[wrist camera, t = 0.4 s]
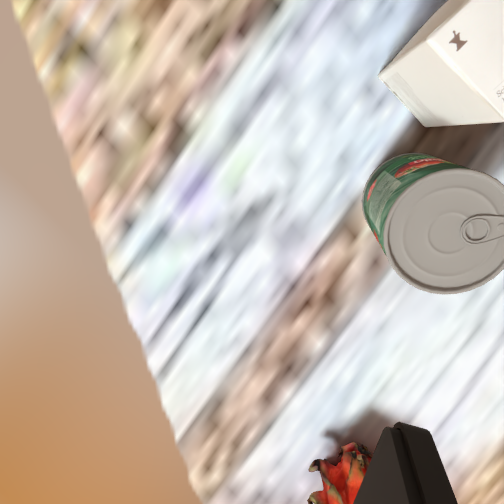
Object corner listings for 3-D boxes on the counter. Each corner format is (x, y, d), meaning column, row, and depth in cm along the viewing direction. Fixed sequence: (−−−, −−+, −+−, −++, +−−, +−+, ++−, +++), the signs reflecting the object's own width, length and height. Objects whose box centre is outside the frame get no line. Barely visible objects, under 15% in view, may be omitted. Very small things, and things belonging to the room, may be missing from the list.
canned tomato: (366, 250, 38) (388, 301, 28) (356, 161, 36) (377, 180, 25) (461, 237, 37) (522, 287, 26) (457, 144, 34) (522, 157, 24)
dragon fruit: (334, 504, 49) (346, 408, 47) (406, 551, 44) (424, 444, 42) (288, 547, 43) (300, 438, 41) (366, 609, 37) (384, 486, 35)
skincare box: (424, 128, 34) (504, 138, 20) (372, 73, 34) (418, 44, 20) (514, 42, 32) (677, -13, 18) (460, -19, 31) (587, -128, 17)
